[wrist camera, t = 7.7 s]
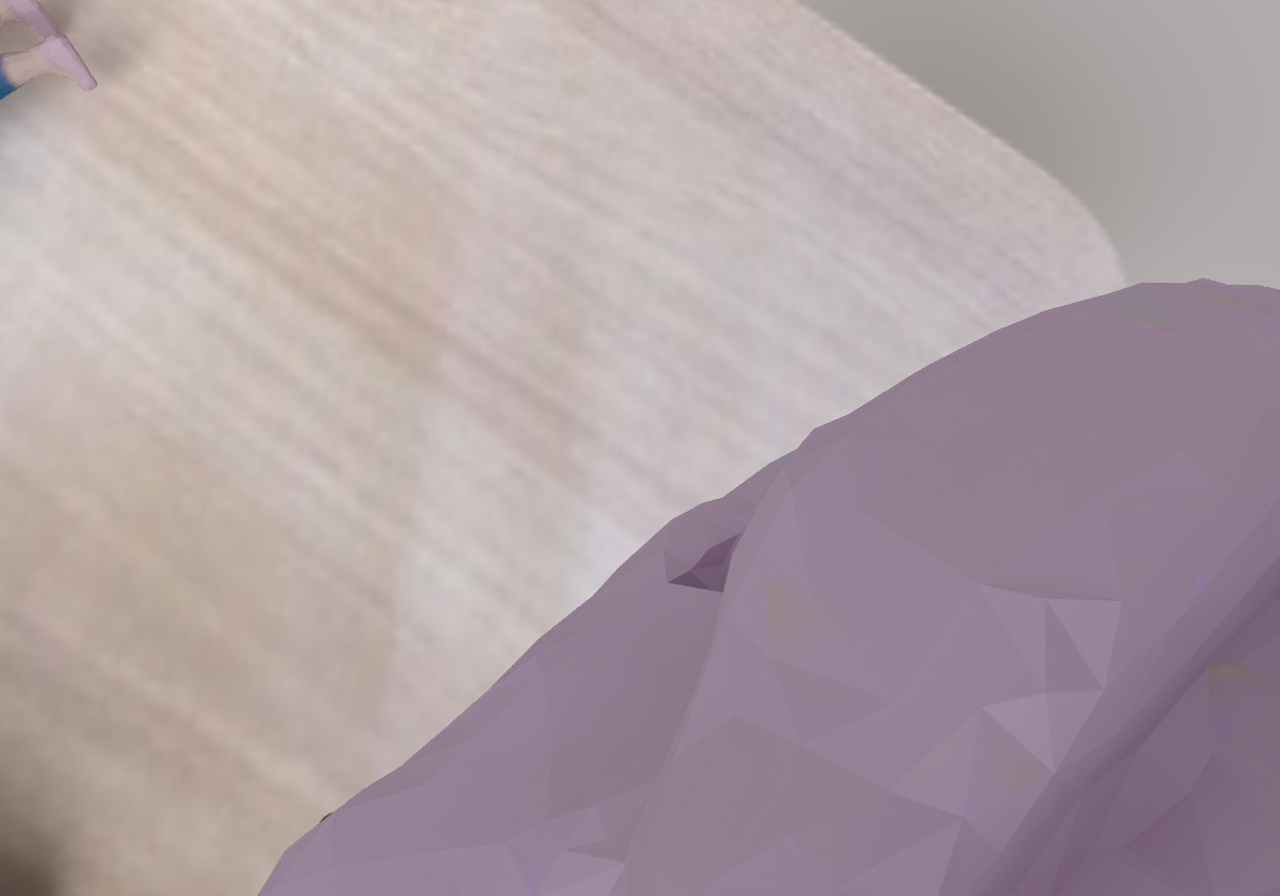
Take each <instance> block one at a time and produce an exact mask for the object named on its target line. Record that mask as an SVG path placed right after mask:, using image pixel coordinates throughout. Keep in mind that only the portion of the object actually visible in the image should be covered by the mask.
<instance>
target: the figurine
mask: <svg viewBox="0 0 1280 896" xmlns="http://www.w3.org/2000/svg"><path fill="white" fill-rule="evenodd" d="M6 22H21V23H24V24H26V25H28V26H30V27H32V28H34V29H35V30H36V31H37V32H38V33H39V34H40V35H42V36H43V37H44V38H45V40H44V41H42V42H41V43H40V44H38V45H36V46H34V47H32V48H30V49H28V50H26V51H18V52H10V53H2V54H0V100H1V99H2V98H4V97H5V96H7V95H8V94H10V93H11V92H13V91H15V90H16V89H17V88H19V87H20V86H22V85H23V84H25V83H26V82H28V81H29V80H30V79H32V78H34V77H37V76H40V75H43V74H47V73H54V74H61V75H63V76H65V77H66V78H68V79H70V80H72V81H74V82H76V83H77V84H78V85H79V86H80V87H81V88H82V89H84V90H85V91H86V90H92V89H94V88H96V86H97V81H96V80H95V78H94V77H93V76H92V75H91V73H90V71H89V70H88V68H87V66H86V65H85V63H84V61H83V60H82V58H81V57H80V55H79V54H78V52H77V51H76V50H75V48H74V47H73V45H72V44H71V43H70V41H69V40H68V38H67V37H66V36H65V35H62V34H58V33H59V32H58V30H57V29H56V27H55V25H54V24H53V22H52V20H51V19H50V17H49V15H48V14H47V13H46V11H45V10H44V9H43V7H42V6H41V5H40V4H39V2H38V1H37V0H0V25H2V24H4V23H6Z"/></svg>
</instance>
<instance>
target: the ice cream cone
mask: <svg viewBox="0 0 1280 896" xmlns="http://www.w3.org/2000/svg"><path fill="white" fill-rule="evenodd" d="M258 896H1280V290H1278V289H1273V288H1269V287H1264V286H1259V285H1226V284H1223V283H1219V282H1216V281H1212V280H1209V279H1205V278H1202V279H1199V280H1195V281H1192V282H1188V283H1140V284H1137V285H1134V286H1131V287H1128V288H1125V289H1122V290H1118V291H1115V292H1112V293H1109V294H1106V295H1103V296H1099V297H1095V298H1091V299H1087V300H1084V301H1080V302H1076V303H1072V304H1069V305H1065V306H1061V307H1057V308H1053V309H1050V310H1046V311H1044V312H1041V313H1039V314H1036V315H1034V316H1031V317H1029V318H1026V319H1024V320H1021V321H1019V322H1017V323H1014V324H1012V325H1009V326H1007V327H1004V328H1002V329H999V330H997V331H995V332H993V333H991V334H989V335H987V336H985V337H983V338H981V339H979V340H977V341H975V342H973V343H971V344H969V345H967V346H965V347H963V348H961V349H959V350H957V351H955V352H953V353H951V354H950V355H948V356H946V357H944V358H942V359H940V360H938V361H936V362H934V363H932V364H930V365H928V366H926V367H925V368H923V369H921V370H919V371H917V372H916V373H914V374H913V375H911V376H909V377H908V378H906V379H905V380H903V381H901V382H900V383H898V384H897V385H895V386H893V387H892V388H890V389H889V390H887V391H885V392H884V393H882V394H881V395H879V396H877V397H876V398H874V399H873V400H871V401H869V402H868V403H866V404H865V405H863V406H861V407H860V408H858V409H857V410H855V411H853V412H852V413H850V414H848V415H846V416H844V417H841V418H839V419H837V420H834V421H832V422H829V423H827V424H825V425H822V426H820V427H818V428H815V429H814V430H813V431H812V432H811V433H810V434H809V436H808V437H807V438H806V439H805V440H804V441H803V443H802V444H801V445H800V446H799V447H798V449H796V450H794V451H792V452H790V453H789V454H787V455H785V456H783V457H781V458H779V459H777V460H775V461H774V462H772V463H770V464H768V465H767V466H765V467H764V468H763V469H761V470H760V471H759V472H757V473H756V474H754V475H753V476H752V477H750V478H749V479H748V480H746V481H745V482H744V483H742V484H741V485H739V486H738V487H737V488H735V489H734V490H733V491H731V492H730V493H729V494H727V495H726V496H725V497H723V498H720V499H716V500H712V501H709V502H705V503H702V504H700V505H698V506H696V507H695V508H693V509H691V510H689V511H687V512H685V513H683V514H681V515H680V516H678V517H676V518H674V519H672V520H671V521H670V522H669V523H668V524H666V525H665V526H664V527H663V528H662V529H661V530H660V531H659V532H658V533H657V534H655V535H654V536H653V537H652V538H651V539H650V540H649V541H648V542H647V543H645V544H644V545H643V546H642V547H641V548H640V549H639V550H638V551H637V552H636V553H634V554H633V555H632V556H631V557H630V558H629V559H628V560H627V561H626V562H624V563H623V564H622V565H621V566H620V567H619V568H618V569H617V570H616V571H615V572H614V573H613V575H612V576H611V577H610V578H609V579H608V580H607V581H606V582H605V583H604V584H603V586H602V587H601V588H600V589H599V590H598V591H597V592H596V593H595V594H594V595H593V596H592V597H591V598H590V599H588V600H587V601H586V602H585V603H583V604H582V605H581V606H580V607H578V608H577V609H576V610H575V611H573V612H572V613H571V614H569V615H568V616H567V617H566V618H564V619H563V620H562V621H561V622H559V623H558V624H557V625H556V626H554V627H553V628H552V629H551V630H549V631H548V632H547V633H546V634H544V635H543V636H542V637H541V638H539V639H538V640H537V641H536V642H535V643H534V644H533V645H532V646H531V647H530V648H529V649H528V650H527V651H526V652H525V653H524V654H523V655H522V656H521V657H520V658H519V660H518V661H517V662H516V663H515V664H514V665H513V666H512V667H511V668H510V669H509V670H508V671H507V672H506V673H505V674H504V675H503V676H502V677H501V678H500V679H499V680H498V681H497V682H496V683H495V684H494V685H493V686H492V687H491V688H490V689H489V690H488V691H487V692H486V693H485V694H484V695H483V696H481V697H480V698H479V699H478V700H477V701H476V702H475V703H473V704H472V705H471V706H470V707H469V708H468V709H467V710H465V711H464V712H463V713H462V714H461V715H460V716H459V717H457V718H456V719H455V720H454V721H453V722H452V723H451V724H449V725H448V726H447V727H446V728H445V729H444V730H443V731H441V732H440V733H439V734H438V735H437V736H436V737H434V738H433V739H432V740H431V741H430V742H429V743H427V744H426V745H425V746H424V747H423V748H422V749H420V750H419V751H418V752H417V753H416V754H415V755H413V756H412V757H411V758H410V759H409V760H408V761H406V762H405V763H404V764H403V765H402V766H401V767H399V768H398V769H396V770H394V771H393V772H391V773H389V774H388V775H386V776H385V777H383V778H381V779H380V780H378V781H376V782H375V783H373V784H372V785H370V786H368V787H367V788H365V789H364V790H362V791H361V792H360V793H358V794H357V795H356V796H354V797H353V798H352V799H350V800H349V801H348V802H346V803H345V804H344V805H342V806H341V807H340V808H338V809H337V810H336V811H334V812H333V813H332V814H331V815H329V816H328V817H327V818H326V819H324V820H323V821H322V822H321V823H319V824H318V825H317V826H316V827H314V828H313V829H312V830H311V831H309V832H308V833H307V834H305V835H304V836H303V837H302V838H300V839H299V840H298V841H297V842H295V843H294V844H293V845H292V846H290V847H289V848H288V849H287V850H286V851H285V852H284V854H283V856H282V857H281V859H280V860H279V862H278V864H277V865H276V867H275V868H274V870H273V872H272V873H271V875H270V877H269V878H268V880H267V881H266V883H265V885H264V886H263V888H262V890H261V891H260V893H259V894H258Z"/></svg>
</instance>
